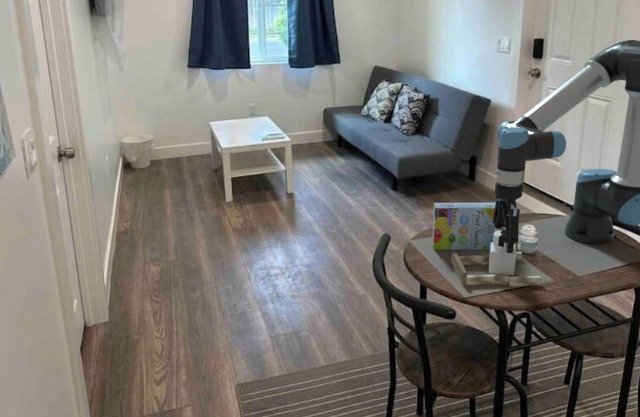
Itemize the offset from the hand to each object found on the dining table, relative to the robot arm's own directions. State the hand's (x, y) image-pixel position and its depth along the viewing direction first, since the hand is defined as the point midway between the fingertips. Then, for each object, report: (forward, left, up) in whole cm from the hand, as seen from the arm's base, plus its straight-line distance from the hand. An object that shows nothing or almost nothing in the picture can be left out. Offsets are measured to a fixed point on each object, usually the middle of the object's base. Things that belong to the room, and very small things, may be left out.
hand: (502, 254), depth 169 cm
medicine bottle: (0, 0, -5) cm, 5 cm away
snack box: (+6, -19, -6) cm, 21 cm away
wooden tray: (+3, 0, -6) cm, 7 cm away
